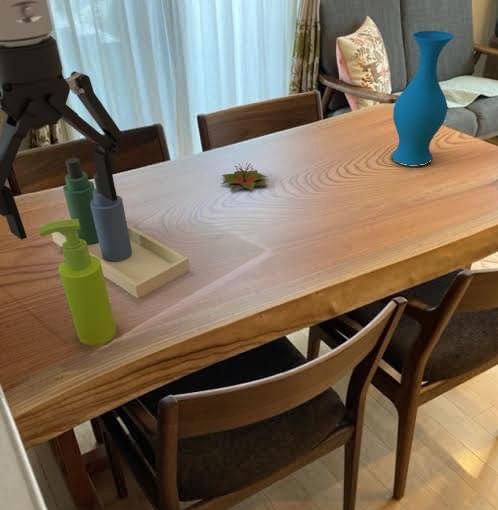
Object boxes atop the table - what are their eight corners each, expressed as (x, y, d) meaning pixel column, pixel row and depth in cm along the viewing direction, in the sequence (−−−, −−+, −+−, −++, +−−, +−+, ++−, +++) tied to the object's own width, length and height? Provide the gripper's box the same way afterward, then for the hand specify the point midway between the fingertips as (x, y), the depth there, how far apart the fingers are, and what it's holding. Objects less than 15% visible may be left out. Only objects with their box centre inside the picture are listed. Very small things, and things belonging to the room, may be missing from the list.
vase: (378, 163, 133) (395, 38, 115) (397, 146, 141) (416, 27, 123) (426, 174, 128) (451, 44, 110) (443, 155, 136) (469, 32, 118)
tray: (54, 244, 107) (50, 230, 105) (103, 222, 113) (100, 209, 111) (138, 301, 91) (135, 286, 90) (190, 272, 98) (188, 258, 96)
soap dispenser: (70, 329, 86) (36, 217, 73) (114, 320, 88) (88, 209, 75) (73, 352, 82) (37, 238, 69) (119, 342, 83) (92, 229, 71)
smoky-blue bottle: (96, 254, 102) (77, 175, 92) (120, 243, 105) (105, 165, 95) (113, 265, 99) (95, 184, 89) (138, 253, 102) (123, 173, 92)
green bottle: (71, 238, 107) (50, 161, 97) (95, 227, 110) (77, 151, 100) (86, 248, 104) (66, 169, 94) (110, 237, 107) (94, 159, 97)
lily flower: (261, 169, 132) (261, 151, 129) (277, 189, 123) (277, 170, 120) (213, 176, 129) (212, 157, 126) (226, 197, 120) (225, 178, 117)
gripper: (-89, 69, 49) (-11, 264, 62) (134, 23, 63) (158, 191, 76) (-117, 56, 53) (-39, 242, 67) (97, 15, 67) (126, 176, 80)
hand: (66, 215), depth 71 cm, fingers open, 13 cm apart
